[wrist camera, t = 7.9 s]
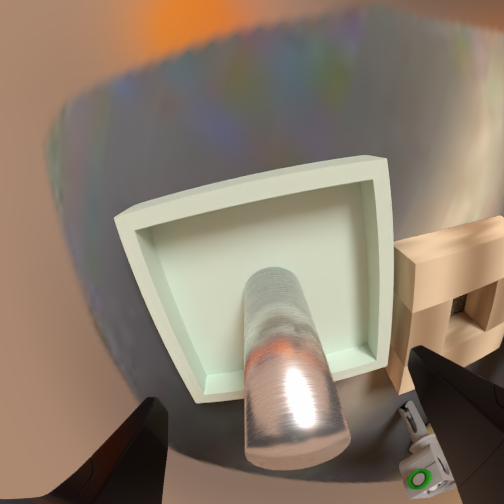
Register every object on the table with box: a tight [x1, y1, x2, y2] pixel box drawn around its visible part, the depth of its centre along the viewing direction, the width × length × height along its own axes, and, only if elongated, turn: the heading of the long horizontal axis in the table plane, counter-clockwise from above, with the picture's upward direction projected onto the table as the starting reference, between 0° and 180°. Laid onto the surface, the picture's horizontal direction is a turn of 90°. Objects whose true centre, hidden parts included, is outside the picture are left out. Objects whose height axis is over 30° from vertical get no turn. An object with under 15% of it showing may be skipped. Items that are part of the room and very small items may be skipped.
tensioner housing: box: [384, 215, 504, 395], centre depth 15 cm, size 10×10×3 cm
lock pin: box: [244, 267, 351, 470], centre depth 11 cm, size 3×3×9 cm
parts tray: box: [114, 155, 394, 403], centre depth 14 cm, size 12×12×2 cm
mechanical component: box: [398, 401, 457, 499], centre depth 16 cm, size 3×10×10 cm, turn 49°
